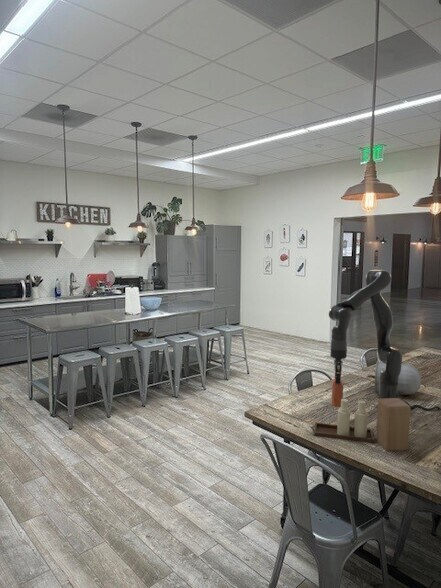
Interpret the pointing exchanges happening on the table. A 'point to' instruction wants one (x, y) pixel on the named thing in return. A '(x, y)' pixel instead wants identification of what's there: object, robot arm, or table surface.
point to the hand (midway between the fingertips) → (337, 381)
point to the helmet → (400, 378)
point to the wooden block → (393, 424)
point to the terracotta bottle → (337, 393)
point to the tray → (331, 432)
